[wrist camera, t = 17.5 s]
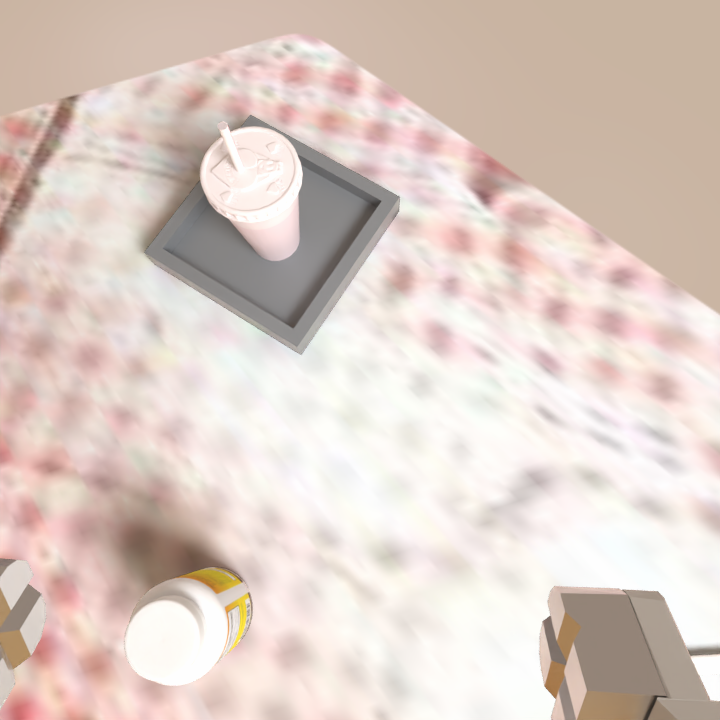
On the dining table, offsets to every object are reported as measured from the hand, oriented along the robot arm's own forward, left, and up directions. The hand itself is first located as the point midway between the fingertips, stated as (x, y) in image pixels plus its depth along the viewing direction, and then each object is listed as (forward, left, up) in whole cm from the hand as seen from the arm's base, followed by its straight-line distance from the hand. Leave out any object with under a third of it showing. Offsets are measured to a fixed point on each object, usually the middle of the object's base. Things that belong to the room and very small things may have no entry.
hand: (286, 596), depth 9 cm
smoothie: (-17, +15, -33) cm, 40 cm away
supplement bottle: (-6, -10, -34) cm, 35 cm away
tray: (-18, +15, -33) cm, 41 cm away
